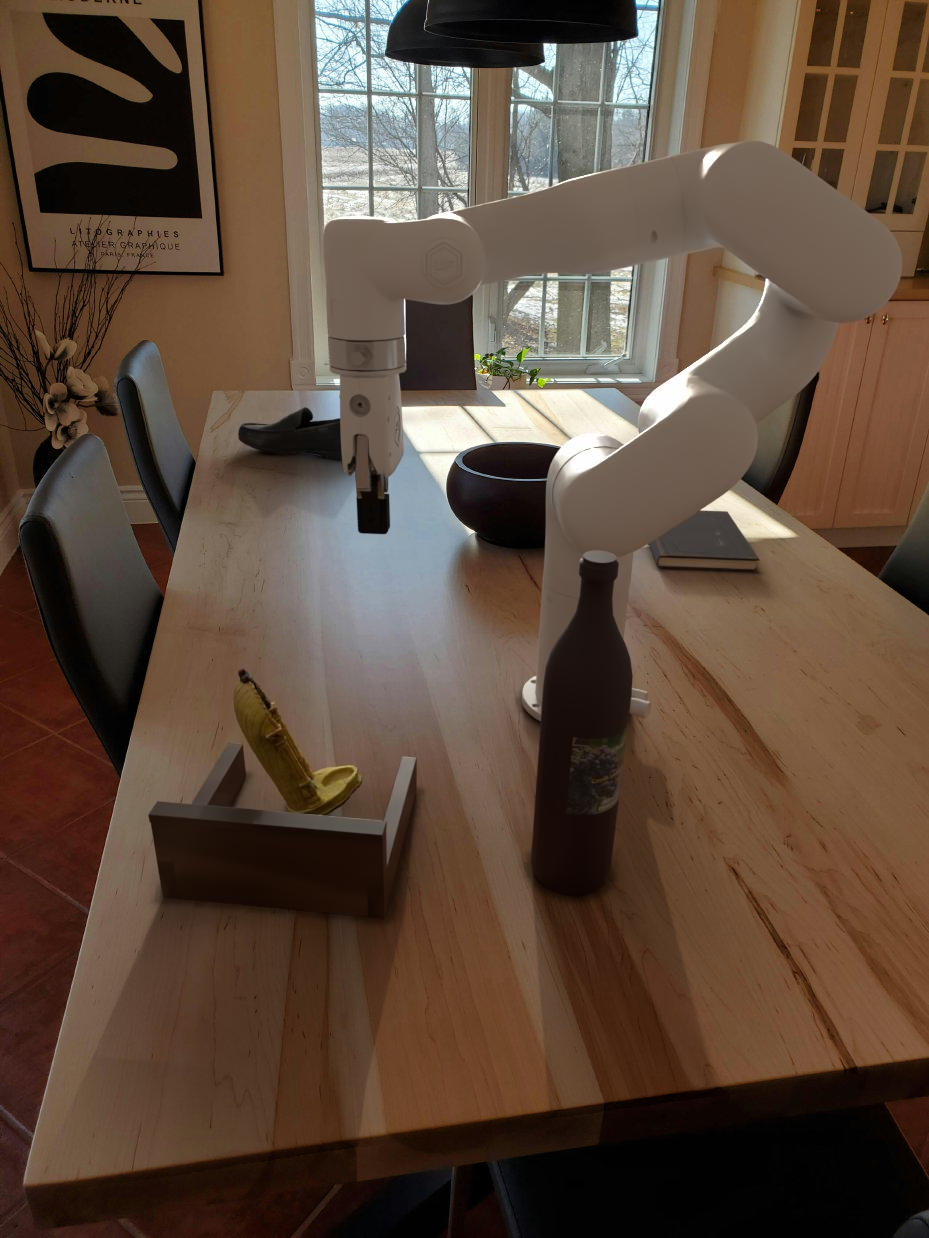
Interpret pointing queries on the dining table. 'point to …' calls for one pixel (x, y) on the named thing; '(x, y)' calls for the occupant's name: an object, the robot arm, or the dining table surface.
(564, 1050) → the dining table surface
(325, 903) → the dark wooden open frame
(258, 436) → the loafer
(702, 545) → the hardcover book
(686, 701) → the dining table surface
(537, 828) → the wine bottle
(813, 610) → the dining table surface
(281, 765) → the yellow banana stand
